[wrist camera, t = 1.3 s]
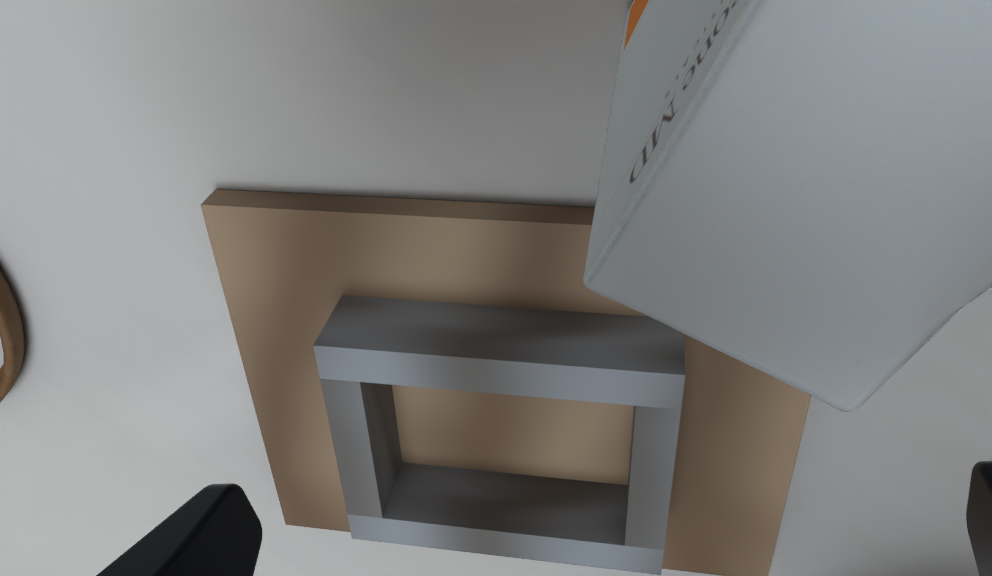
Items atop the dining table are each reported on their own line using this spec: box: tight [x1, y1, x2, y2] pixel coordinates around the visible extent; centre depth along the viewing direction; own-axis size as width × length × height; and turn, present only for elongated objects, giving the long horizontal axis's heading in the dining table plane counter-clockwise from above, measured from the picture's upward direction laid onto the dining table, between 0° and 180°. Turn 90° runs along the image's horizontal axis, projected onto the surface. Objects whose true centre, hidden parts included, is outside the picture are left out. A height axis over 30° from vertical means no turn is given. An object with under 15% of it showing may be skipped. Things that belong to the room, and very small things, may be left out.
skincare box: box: [583, 0, 992, 412], centre depth 14 cm, size 6×4×12 cm
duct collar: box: [201, 189, 811, 576], centre depth 26 cm, size 18×14×4 cm
